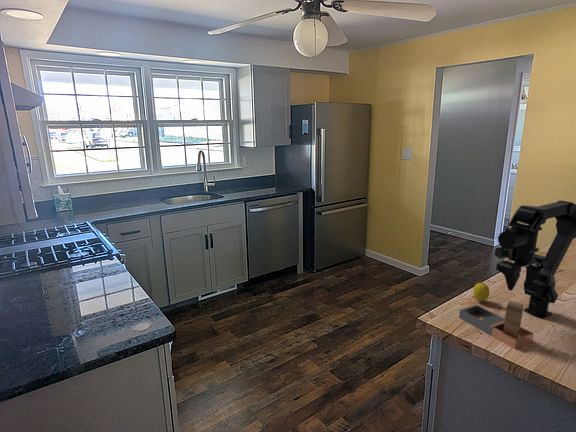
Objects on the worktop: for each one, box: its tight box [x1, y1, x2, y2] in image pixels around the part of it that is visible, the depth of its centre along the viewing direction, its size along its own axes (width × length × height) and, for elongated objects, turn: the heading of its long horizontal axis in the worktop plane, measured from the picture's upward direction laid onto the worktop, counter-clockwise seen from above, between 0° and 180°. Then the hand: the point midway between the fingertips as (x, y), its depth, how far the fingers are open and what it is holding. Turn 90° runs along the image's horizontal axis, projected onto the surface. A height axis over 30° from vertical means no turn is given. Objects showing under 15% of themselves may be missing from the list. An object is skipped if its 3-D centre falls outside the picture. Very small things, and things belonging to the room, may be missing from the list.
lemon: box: [472, 282, 490, 302], centre depth 139 cm, size 6×6×8 cm
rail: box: [458, 304, 535, 350], centre depth 122 cm, size 8×21×3 cm, turn 24°
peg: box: [503, 300, 525, 338], centre depth 115 cm, size 4×4×12 cm
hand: (519, 287), depth 123 cm, fingers open, 9 cm apart
